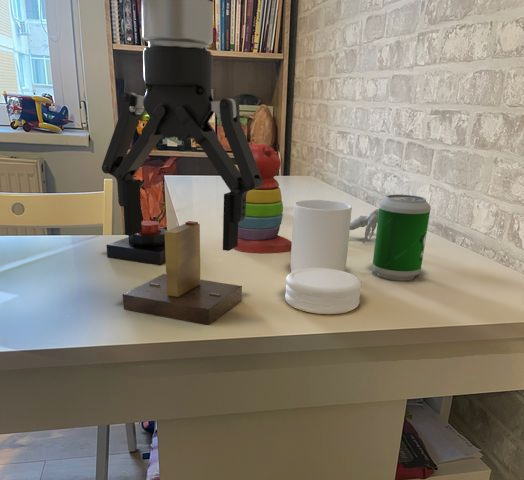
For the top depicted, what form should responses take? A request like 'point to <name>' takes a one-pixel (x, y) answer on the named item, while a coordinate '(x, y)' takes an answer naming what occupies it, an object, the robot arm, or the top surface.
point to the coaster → (322, 290)
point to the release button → (150, 227)
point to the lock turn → (182, 258)
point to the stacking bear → (263, 208)
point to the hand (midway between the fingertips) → (180, 240)
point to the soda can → (400, 236)
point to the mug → (320, 234)
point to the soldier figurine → (366, 223)
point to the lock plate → (183, 300)
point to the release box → (140, 248)
